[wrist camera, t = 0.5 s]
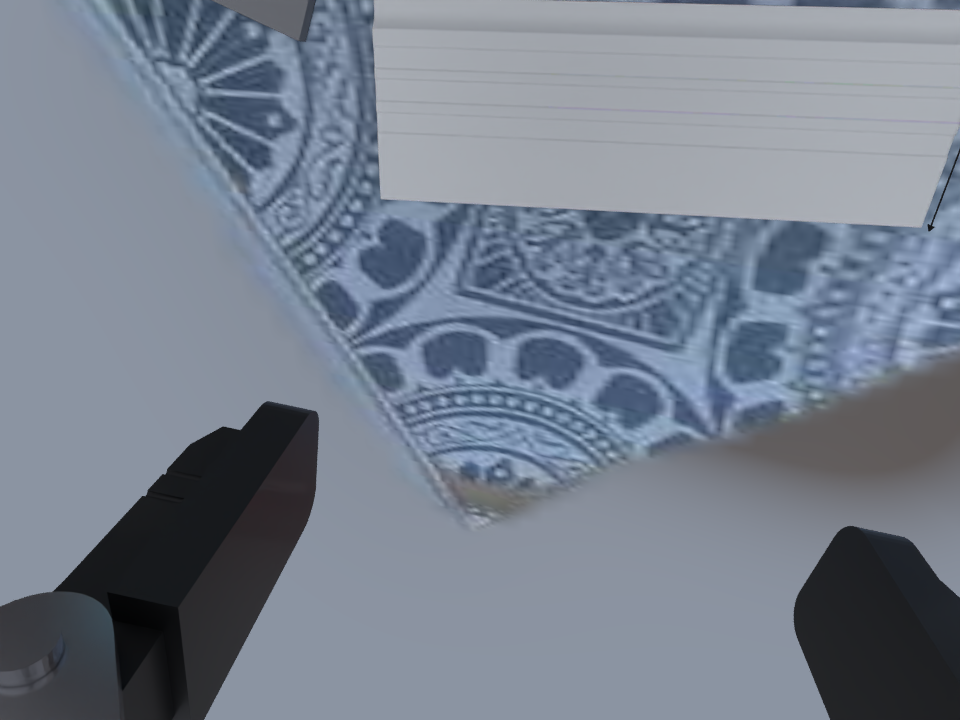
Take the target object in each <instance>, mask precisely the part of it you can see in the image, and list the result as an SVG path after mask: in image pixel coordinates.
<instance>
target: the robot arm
mask: <svg viewBox="0 0 960 720" xmlns="http://www.w3.org/2000/svg"><path fill="white" fill-rule="evenodd" d="M318 431H319V418H318V414H317V412H316V411H312V410H307V409H303V408H297V407H293V406H288V405H283V404H279V403H274V402H269V401H267V402H265V403H264V404H262V405H261V407H260V408H259V409H258V410H257V411H256V412H255V414H254V415H253V416H252V417H251V419H250V420H249V421H248V422H247V423H246V425H245V426H244V427H243V428H242V429H241V430H237V429H232V428H227V427H221V428H219V429H218V430H216V431H214V432H212V433H210V434H209V435H207V436H205V437H203V438H201V439H199V440H197V441H196V442H194V443H192V444H190V445H189V446H188V447H187V448H186V449H185V451H184V452H183V453H182V454H181V455H180V456H179V457H178V458H177V459H176V460H175V461H174V462H173V464H172V465H171V466H170V467H169V468H168V469H167V473H166V474H165V475H164V474H162V476H160V478H159V479H158V480H157V481H156V482H155V483H154V484H153V485H152V486H151V487H150V488H149V489H148V492H147V495H146V496H142V497H141V498H140V499H139V500H138V501H137V503H136V504H135V505H134V506H133V507H132V508H131V509H130V510H129V511H128V512H127V513H126V514H125V515H124V516H123V518H122V519H121V520H120V521H119V522H118V523H117V524H116V525H115V526H114V527H113V528H112V529H111V531H110V532H109V533H108V534H107V535H106V536H105V537H104V538H103V539H102V540H101V541H100V542H99V544H98V545H97V546H96V547H95V548H94V549H93V550H92V551H91V552H90V553H89V554H88V555H87V556H86V558H85V559H84V560H83V561H82V562H81V563H80V564H79V565H78V566H77V568H75V569H74V570H73V572H72V573H71V574H70V575H69V576H68V577H67V578H66V579H65V580H64V581H63V582H62V583H61V584H60V585H59V586H58V587H57V588H56V589H55V590H54V591H53V592H47V593H40V594H36V595H31V596H27V597H24V598H21V599H18V600H15V601H12V602H10V603H8V604H5V605H3V606H0V720H204V719H205V717H206V714H207V713H208V711H209V709H210V707H211V705H212V703H213V701H214V699H215V698H216V696H217V694H218V692H219V690H220V688H221V686H222V684H223V682H224V681H225V679H226V677H227V675H228V673H229V671H230V669H231V667H232V665H233V663H234V661H235V660H236V658H237V656H238V654H239V652H240V650H241V648H242V646H243V644H244V642H245V641H246V639H247V637H248V635H249V633H250V631H251V629H252V627H253V625H254V623H255V622H256V620H257V618H258V616H259V614H260V612H261V610H262V608H263V606H264V604H265V603H266V601H267V599H268V597H269V595H270V593H271V591H272V589H273V587H274V585H275V584H276V582H277V580H278V578H279V576H280V574H281V572H282V570H283V568H284V567H285V565H286V563H287V560H288V559H289V557H290V555H291V553H292V551H293V549H294V548H295V546H296V544H297V541H298V540H299V538H300V536H301V534H302V532H303V530H304V528H305V526H306V524H307V522H308V518H309V516H310V513H311V509H312V506H313V502H314V497H315V491H316V473H317V452H318ZM794 627H795V632H796V635H797V638H798V641H799V644H800V646H801V648H802V651H803V653H804V656H805V658H806V661H807V663H808V666H809V668H810V671H811V673H812V676H813V678H814V681H815V683H816V685H817V688H818V690H819V693H820V695H821V698H822V700H823V703H824V705H825V708H826V710H827V713H828V715H829V718H830V720H960V598H959V597H958V596H957V595H956V594H955V593H954V592H953V591H952V590H950V589H949V588H948V587H947V586H946V585H945V584H944V583H943V582H942V581H940V580H939V578H938V577H937V576H936V574H935V573H934V571H933V570H932V569H931V567H930V566H929V564H928V563H927V562H926V561H925V559H924V558H923V556H922V555H921V554H920V552H919V550H918V549H917V548H916V546H915V545H914V544H913V543H912V542H911V541H910V540H908V539H906V538H905V537H900V536H896V535H891V534H887V533H882V532H878V531H873V530H868V529H863V528H859V527H854V526H847V527H845V528H843V529H841V530H840V531H839V532H838V533H837V534H836V536H835V537H834V538H833V540H832V542H831V543H830V545H829V547H828V548H827V550H826V551H825V553H824V554H823V556H822V557H821V559H820V560H819V562H818V564H817V565H816V567H815V569H814V570H813V571H812V573H811V575H810V576H809V578H808V579H807V581H806V583H805V584H804V586H803V587H802V589H801V591H800V592H799V594H798V596H797V599H796V602H795V607H794Z"/></svg>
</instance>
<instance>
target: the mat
mask: <svg viewBox="0 0 960 720" xmlns="http://www.w3.org/2000/svg"><path fill="white" fill-rule="evenodd" d="M212 1H214V2H217V3H219V4H221V5H223V6H225V7H227V8H229V9H231V10H234V11H236V12H238V13H240V14H242V15H244V16H246V17H249V18H251V19H253V20H255V21H257V22H259V23H261V24H264V25H266V26H268V27H270V28H272V29H274V30H276V31H278V32H281V33H283V34H285V35H287V36H289V37H291V38H293V39H296V40H298V41H306V37H307V33H308V29H309V25H310V21H311V17H312V13H313V9H314V5H315V0H212Z"/></svg>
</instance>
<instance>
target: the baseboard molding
mask: <svg viewBox="0 0 960 720" xmlns="http://www.w3.org/2000/svg"><path fill="white" fill-rule="evenodd" d="M372 30H373V46H374V62H375V69H374V71H375V83H376V111H377V124H378V153H379V173H380V194H381V199H388V200H407V201H426V202H445V203H464V204H483V205H502V206H521V207H540V208H559V209H578V210H597V211H616V212H635V213H655V214H674V215H693V216H712V217H731V218H750V219H769V220H788V221H807V222H826V223H845V224H864V225H883V226H902V227H922V224H923V222H924V219H925V216H926V214H927V211H928V208H929V206H930V203H931V200H932V198H933V195H934V192H935V190H936V187H937V184H938V182H939V179H940V176H941V174H942V171H943V168H944V166H945V163H946V160H947V155H948V152H949V150H950V147H951V144H952V142H953V139H954V136H955V135H956V134H957V131H958V128H959V126H960V10H939V9H896V8H854V7H811V6H769V5H726V4H684V3H641V2H598V1H556V0H374V23H373V28H372ZM959 153H960V149H959V152H958V155H957V157H956V160H955V163H954V165H953V168H952V170H951V173H950V176H949V178H948V181H947V184H946V186H945V189H944V191H943V194H942V197H941V199H940V202H939V204H938V207H937V210H936V212H935V215H934V218H933V220H932V223H931V225H929V224H928V231H931V230H932V229H933V228H934V227H933V226H932V224H933V221H934V219H935V216H936V214H937V211H938V208H939V206H940V203H941V201H942V198H943V195H944V193H945V190H946V187H947V185H948V182H949V180H950V177H951V174H952V172H953V169H954V167H955V164H956V161H957V159H958V156H959Z"/></svg>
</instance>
